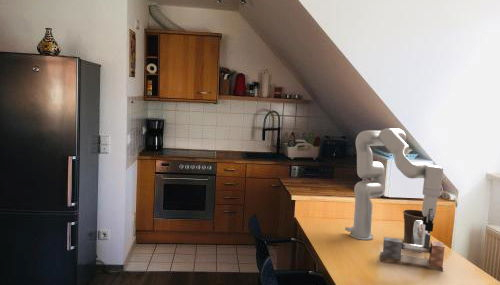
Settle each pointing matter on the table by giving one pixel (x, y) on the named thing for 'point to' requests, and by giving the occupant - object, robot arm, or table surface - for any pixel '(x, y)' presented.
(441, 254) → the tube rig
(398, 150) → the robot arm
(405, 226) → the plant pot
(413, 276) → the table surface
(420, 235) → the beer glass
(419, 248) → the tube
